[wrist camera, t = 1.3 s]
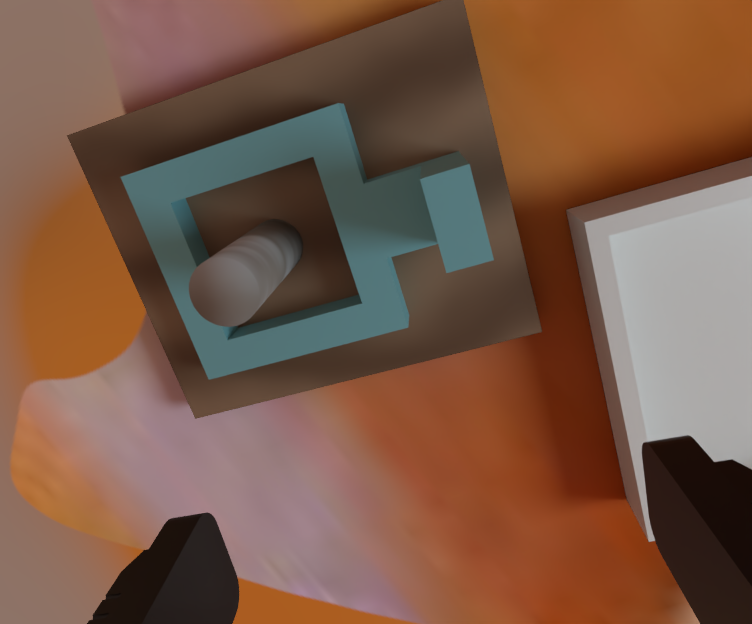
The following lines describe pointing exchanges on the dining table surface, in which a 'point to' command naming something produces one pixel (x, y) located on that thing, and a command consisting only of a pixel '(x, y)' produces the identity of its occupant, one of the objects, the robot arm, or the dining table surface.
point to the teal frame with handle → (353, 221)
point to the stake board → (321, 205)
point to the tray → (672, 315)
